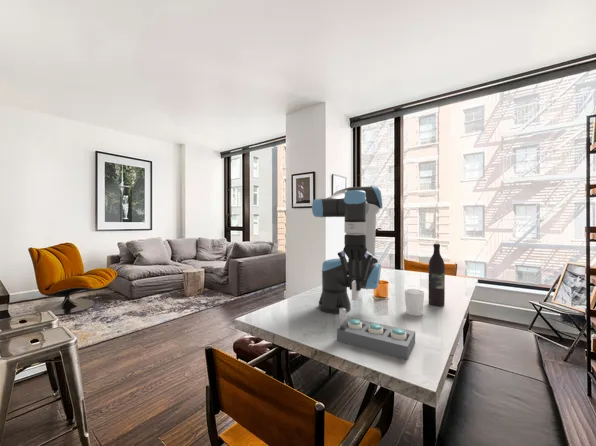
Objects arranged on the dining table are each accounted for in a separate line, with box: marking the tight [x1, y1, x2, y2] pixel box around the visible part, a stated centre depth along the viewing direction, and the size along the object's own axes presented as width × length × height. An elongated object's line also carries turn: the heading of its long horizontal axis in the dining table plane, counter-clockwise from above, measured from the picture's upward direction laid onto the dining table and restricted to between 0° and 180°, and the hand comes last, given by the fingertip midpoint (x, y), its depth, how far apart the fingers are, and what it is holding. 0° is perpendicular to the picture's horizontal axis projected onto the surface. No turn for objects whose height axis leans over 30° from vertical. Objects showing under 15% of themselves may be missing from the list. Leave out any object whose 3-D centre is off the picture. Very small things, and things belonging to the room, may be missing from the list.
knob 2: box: [391, 327, 406, 341], centre depth 87 cm, size 5×5×5 cm
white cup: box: [404, 288, 425, 317], centre depth 119 cm, size 8×8×10 cm
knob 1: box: [347, 318, 362, 330], centre depth 95 cm, size 5×5×5 cm
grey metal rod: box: [338, 308, 347, 330], centre depth 92 cm, size 2×2×7 cm
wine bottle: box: [428, 243, 446, 308], centre depth 131 cm, size 7×7×30 cm
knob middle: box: [369, 323, 383, 335], centre depth 91 cm, size 5×5×5 cm
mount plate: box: [336, 317, 416, 361], centre depth 91 cm, size 23×13×4 cm, turn 57°
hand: (355, 299), depth 96 cm, fingers closed
